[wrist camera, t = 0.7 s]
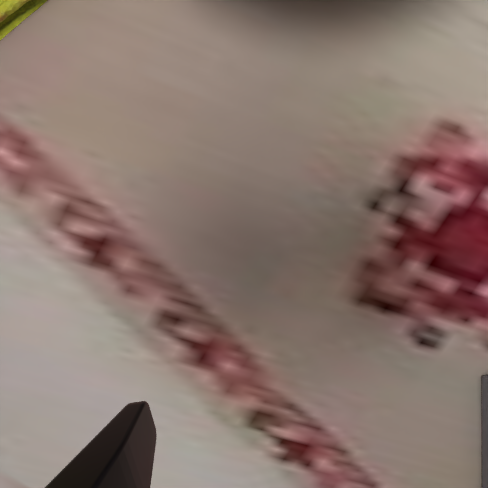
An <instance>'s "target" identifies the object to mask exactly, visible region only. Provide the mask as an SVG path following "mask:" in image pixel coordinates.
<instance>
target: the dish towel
mask: <svg viewBox="0 0 488 488" xmlns="http://www.w3.org/2000/svg"><path fill="white" fill-rule="evenodd" d="M46 1H47V0H0V40H1V39H2V38H4V37H5V36H6V35H7V34H8V33H9V32H11V31H12V30H13V29H14V28H15V27H16V26H18V25H19V24H20V23H21V22H22V21H23V20H25V19H26V18H27V17H28V16H29V15H31V14H32V13H33V12H34V11H36V10H37V9H38V8H39V7H40V6H41V5H43V4H44V3H45V2H46Z"/></svg>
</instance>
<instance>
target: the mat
mask: <svg viewBox="0 0 488 488" xmlns="http://www.w3.org/2000/svg"><path fill="white" fill-rule="evenodd" d="M482 488H488V375H486V376H482Z"/></svg>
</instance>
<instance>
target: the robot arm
mask: <svg viewBox="0 0 488 488" xmlns="http://www.w3.org/2000/svg"><path fill="white" fill-rule="evenodd" d="M155 445H156V428H155V424H154V421H153V418H152V414H151V411H150V407H149V405H148V403H147V402H145V401H141V402H134V403H129V404H128V405H126V406H125V407H124V408H123V409H122V410H121V411H120V412H119V413H118V414H117V415H116V416H115V417H114V418H113V419H112V420H111V421H110V422H109V423H108V424H107V425H106V426H105V427H104V428H103V429H102V431H101V432H100V433H99V434H98V435H97V436H96V437H95V438H94V439H93V440H92V441H91V442H90V443H89V444H88V445H87V446H86V447H85V448H84V449H83V450H82V451H81V452H80V453H79V454H78V455H77V456H76V457H75V458H74V459H73V460H72V461H71V462H70V463H69V464H68V465H67V466H66V467H65V468H64V469H63V470H62V471H61V472H60V473H59V474H58V475H57V476H56V477H55V478H54V479H53V480H52V481H51V482H50V483H49V484H48V485H47V486H46V487H45V488H150V485H151V477H152V469H153V461H154V453H155Z"/></svg>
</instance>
